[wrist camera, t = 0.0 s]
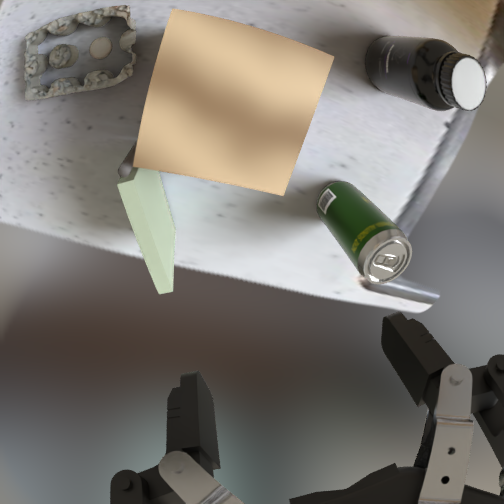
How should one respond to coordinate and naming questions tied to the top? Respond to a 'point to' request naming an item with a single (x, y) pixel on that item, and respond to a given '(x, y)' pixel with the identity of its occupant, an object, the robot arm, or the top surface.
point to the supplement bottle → (426, 72)
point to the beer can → (364, 232)
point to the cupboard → (228, 103)
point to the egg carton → (76, 54)
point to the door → (151, 223)
